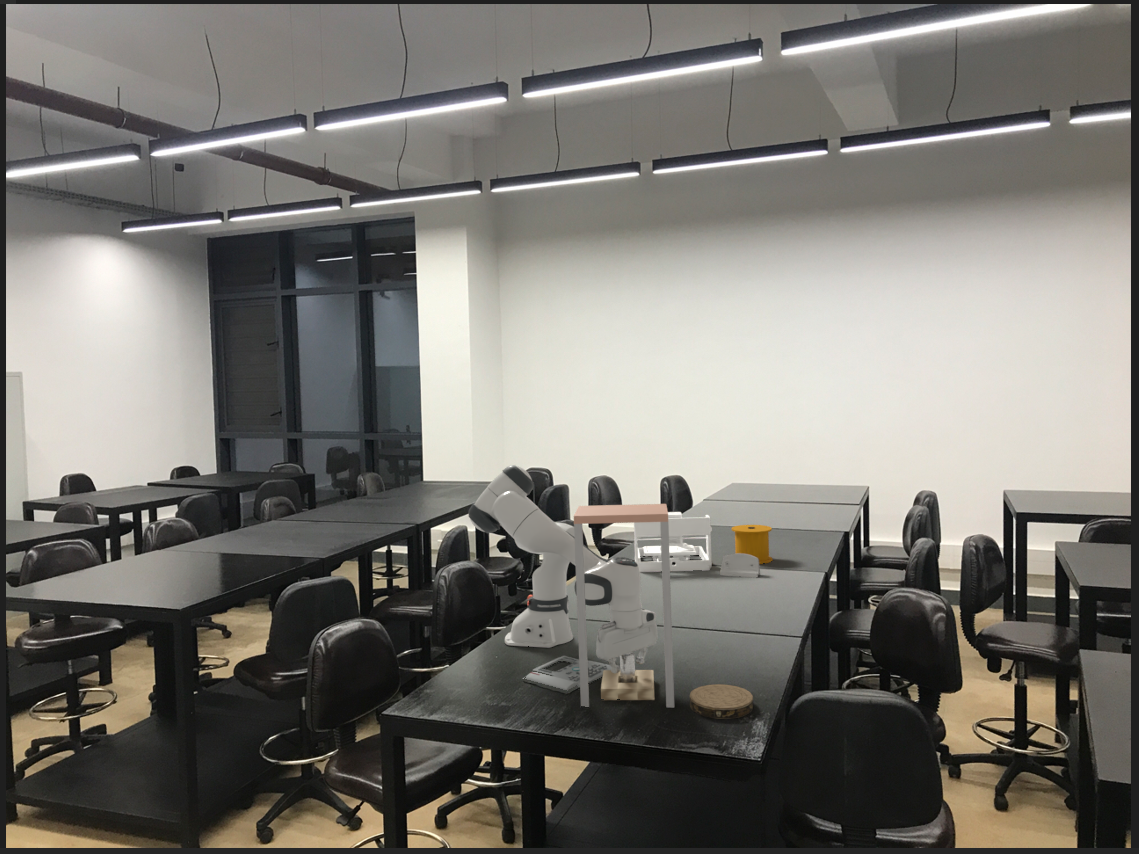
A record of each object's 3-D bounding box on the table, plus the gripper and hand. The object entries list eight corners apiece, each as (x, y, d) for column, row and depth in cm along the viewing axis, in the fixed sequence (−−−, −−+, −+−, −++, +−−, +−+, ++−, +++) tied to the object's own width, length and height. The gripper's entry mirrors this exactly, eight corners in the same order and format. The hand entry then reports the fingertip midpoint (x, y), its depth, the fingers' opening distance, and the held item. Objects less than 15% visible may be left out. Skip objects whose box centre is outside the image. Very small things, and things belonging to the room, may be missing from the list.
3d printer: (707, 555, 388) (703, 502, 387) (716, 570, 357) (712, 513, 355) (634, 560, 390) (629, 508, 389) (636, 576, 358) (631, 519, 357)
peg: (620, 692, 220) (619, 656, 220) (621, 687, 224) (619, 651, 224) (635, 692, 220) (634, 656, 219) (635, 687, 224) (634, 651, 223)
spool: (724, 559, 378) (723, 526, 377) (755, 554, 385) (755, 522, 384) (748, 566, 361) (747, 532, 361) (780, 561, 369) (780, 528, 368)
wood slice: (764, 704, 210) (764, 693, 209) (732, 725, 198) (732, 713, 198) (711, 690, 220) (710, 679, 220) (677, 709, 208) (677, 698, 208)
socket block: (601, 700, 216) (600, 688, 216) (603, 680, 230) (603, 670, 230) (654, 699, 215) (654, 688, 214) (653, 680, 228) (653, 669, 228)
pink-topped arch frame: (581, 707, 211) (573, 516, 209) (585, 683, 228) (578, 505, 225) (674, 707, 209) (668, 513, 206) (671, 683, 226) (666, 503, 223)
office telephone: (567, 688, 220) (513, 673, 233) (567, 697, 220) (513, 682, 233) (617, 662, 238) (565, 650, 251) (618, 671, 238) (565, 658, 251)
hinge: (718, 575, 347) (720, 551, 350) (721, 576, 351) (722, 553, 354) (758, 577, 340) (759, 553, 343) (760, 579, 344) (761, 555, 347)
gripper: (605, 628, 212) (607, 681, 213) (660, 612, 225) (662, 661, 226) (589, 623, 217) (591, 674, 218) (644, 607, 230) (645, 656, 231)
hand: (628, 667), depth 222 cm, fingers open, 8 cm apart
